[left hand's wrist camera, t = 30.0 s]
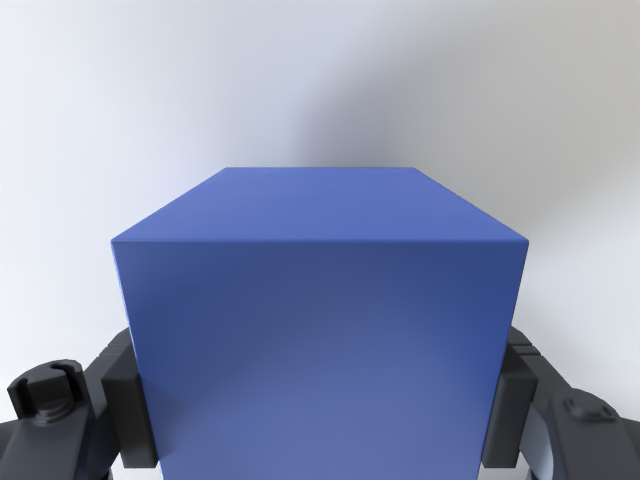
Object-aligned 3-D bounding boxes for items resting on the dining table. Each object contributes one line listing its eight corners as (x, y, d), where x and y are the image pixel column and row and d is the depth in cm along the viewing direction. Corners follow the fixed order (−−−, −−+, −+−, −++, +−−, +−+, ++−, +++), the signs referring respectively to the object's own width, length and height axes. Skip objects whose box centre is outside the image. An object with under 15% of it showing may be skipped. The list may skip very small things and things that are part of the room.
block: (399, 338, 18) (466, 534, 10) (240, 338, 18) (173, 534, 10) (414, 167, 15) (532, 240, 7) (224, 167, 15) (107, 239, 7)
